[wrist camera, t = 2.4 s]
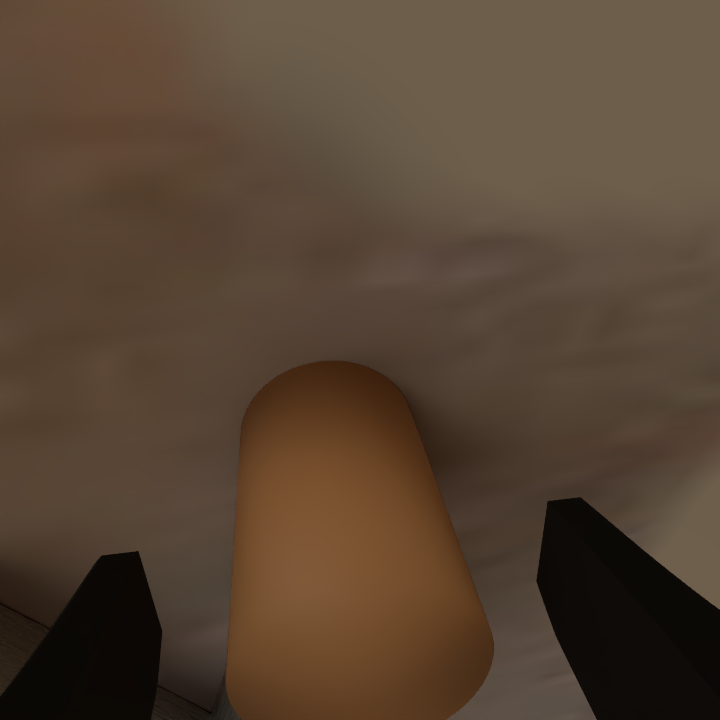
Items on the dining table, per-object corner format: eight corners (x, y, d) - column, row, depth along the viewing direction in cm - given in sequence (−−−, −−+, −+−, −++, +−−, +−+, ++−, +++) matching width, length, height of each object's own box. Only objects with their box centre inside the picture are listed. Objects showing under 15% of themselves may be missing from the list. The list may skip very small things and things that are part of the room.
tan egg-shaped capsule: (228, 370, 13) (204, 599, 8) (412, 352, 14) (503, 559, 8) (251, 511, 15) (244, 768, 10) (412, 491, 16) (485, 730, 10)
